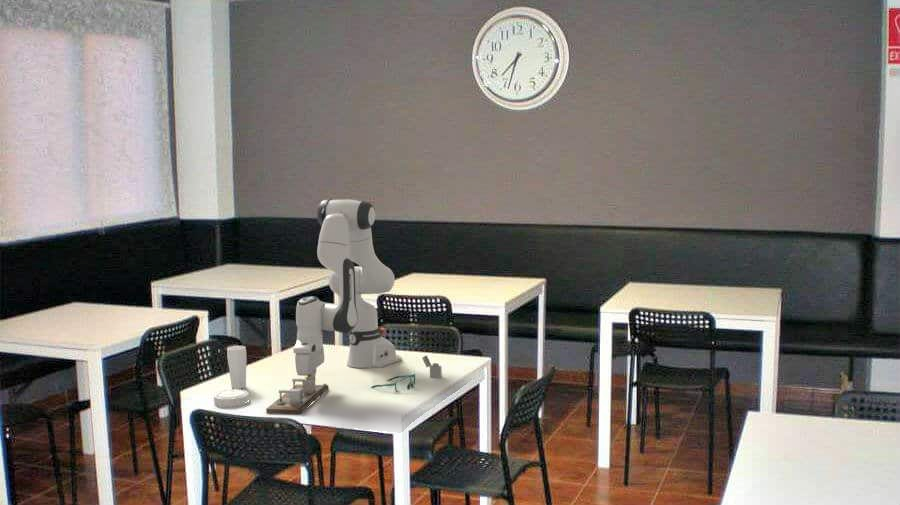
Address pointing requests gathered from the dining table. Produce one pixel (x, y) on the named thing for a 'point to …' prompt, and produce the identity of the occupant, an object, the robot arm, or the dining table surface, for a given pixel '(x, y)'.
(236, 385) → the drinking glass
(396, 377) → the teal eyeglasses
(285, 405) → the gauge board
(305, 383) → the slider leg
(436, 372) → the lighter
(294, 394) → the fixed leg
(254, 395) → the dining table surface
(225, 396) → the white round disc
